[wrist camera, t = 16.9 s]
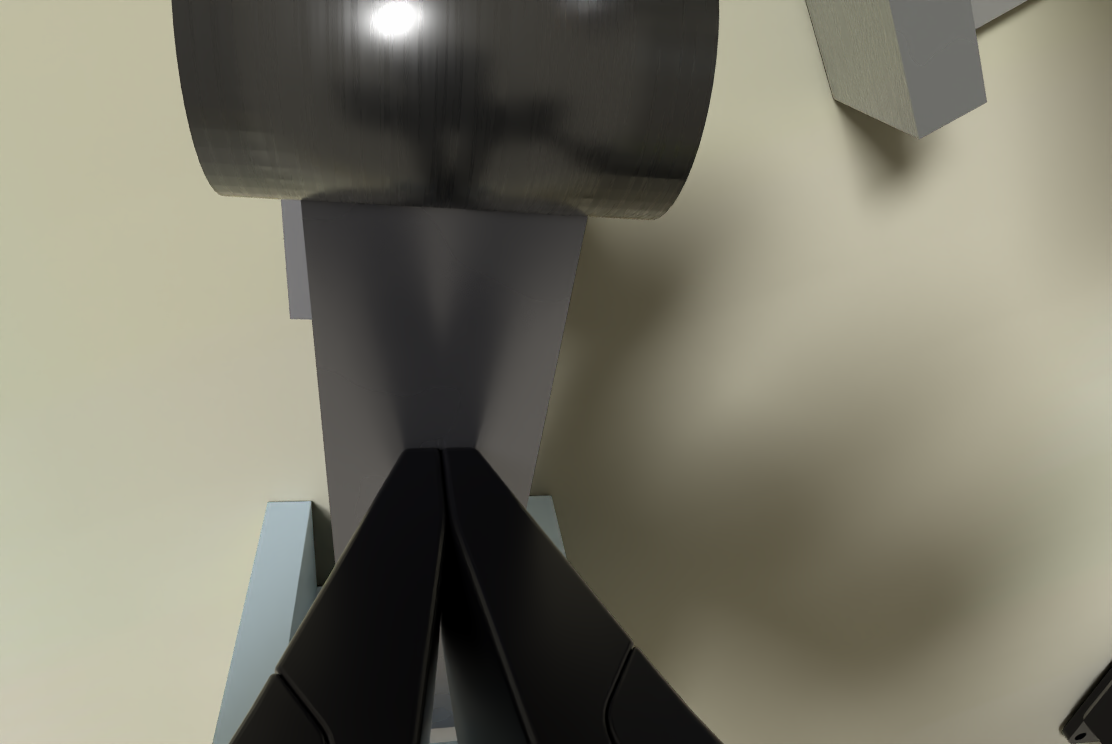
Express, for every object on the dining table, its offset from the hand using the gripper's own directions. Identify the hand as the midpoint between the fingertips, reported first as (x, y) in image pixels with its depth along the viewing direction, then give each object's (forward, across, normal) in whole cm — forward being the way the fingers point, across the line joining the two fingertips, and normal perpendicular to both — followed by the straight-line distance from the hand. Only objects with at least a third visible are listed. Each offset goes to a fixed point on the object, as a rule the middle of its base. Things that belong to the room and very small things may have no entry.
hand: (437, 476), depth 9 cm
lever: (+2, 0, +1) cm, 2 cm away
